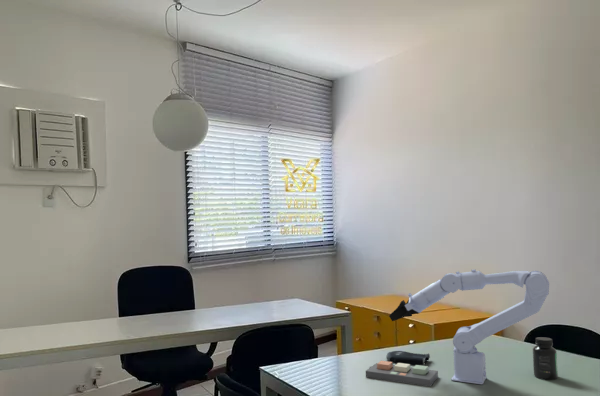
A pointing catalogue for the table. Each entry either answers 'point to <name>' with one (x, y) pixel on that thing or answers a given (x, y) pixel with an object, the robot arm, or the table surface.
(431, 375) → the keypad
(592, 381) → the table surface
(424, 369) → the sage key
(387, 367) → the terracotta key
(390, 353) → the electronic device
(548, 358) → the supplement bottle
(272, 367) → the table surface
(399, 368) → the sand key
